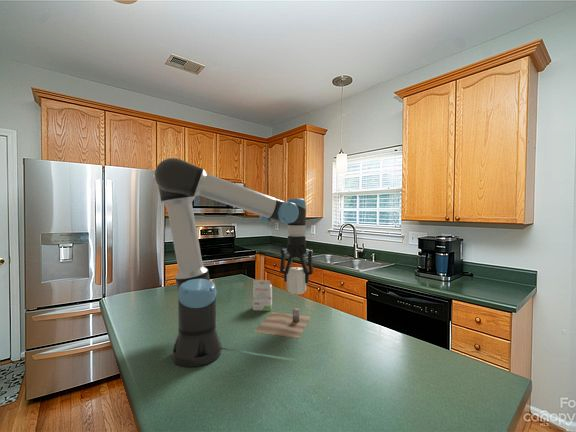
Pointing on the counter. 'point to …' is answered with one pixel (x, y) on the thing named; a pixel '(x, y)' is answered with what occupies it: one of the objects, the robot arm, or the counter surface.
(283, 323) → the board
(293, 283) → the lidded container
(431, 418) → the counter surface
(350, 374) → the counter surface
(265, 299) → the ink box
